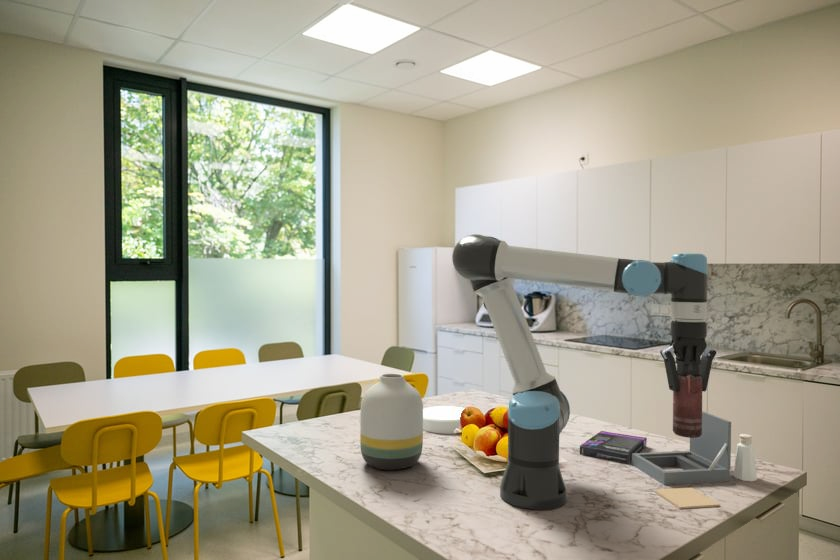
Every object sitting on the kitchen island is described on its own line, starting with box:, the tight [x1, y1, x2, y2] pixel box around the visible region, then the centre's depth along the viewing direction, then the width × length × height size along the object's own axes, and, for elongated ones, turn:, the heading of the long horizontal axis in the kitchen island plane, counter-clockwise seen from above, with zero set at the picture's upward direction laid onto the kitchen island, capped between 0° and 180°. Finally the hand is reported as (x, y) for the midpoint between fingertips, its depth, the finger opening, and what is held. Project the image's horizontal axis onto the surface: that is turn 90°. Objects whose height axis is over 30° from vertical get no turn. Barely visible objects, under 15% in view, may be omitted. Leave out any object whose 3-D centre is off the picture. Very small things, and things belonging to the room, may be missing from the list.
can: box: [672, 375, 703, 439], centre depth 130 cm, size 6×6×14 cm
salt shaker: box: [732, 433, 758, 482], centre depth 144 cm, size 5×5×11 cm
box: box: [579, 430, 648, 465], centre depth 166 cm, size 14×4×20 cm
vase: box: [359, 373, 424, 471], centre depth 152 cm, size 17×17×24 cm
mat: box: [653, 487, 721, 510], centre depth 130 cm, size 10×10×1 cm
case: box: [631, 410, 732, 486], centre depth 147 cm, size 18×15×15 cm
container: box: [423, 405, 465, 435], centre depth 192 cm, size 20×20×5 cm
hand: (687, 421), depth 130 cm, fingers closed
